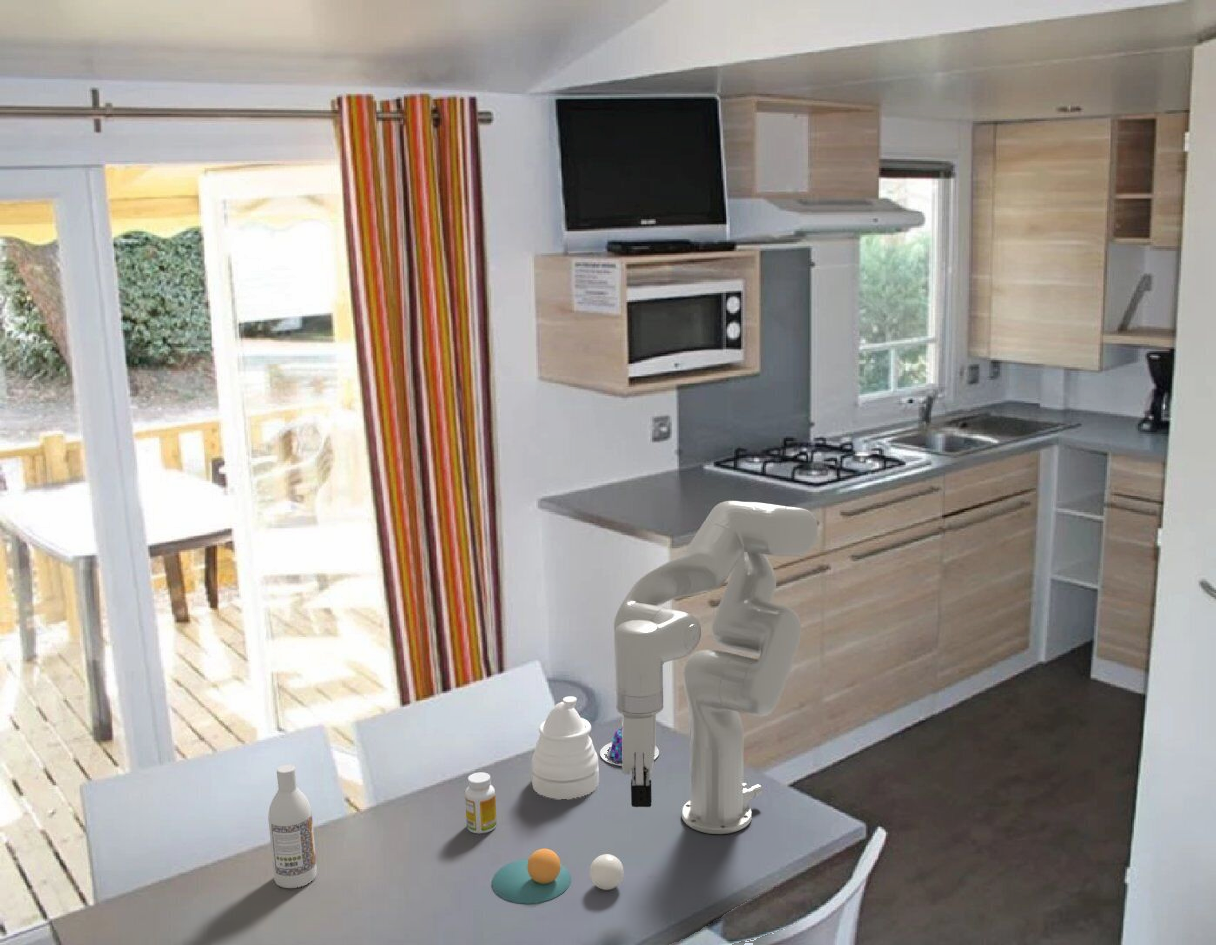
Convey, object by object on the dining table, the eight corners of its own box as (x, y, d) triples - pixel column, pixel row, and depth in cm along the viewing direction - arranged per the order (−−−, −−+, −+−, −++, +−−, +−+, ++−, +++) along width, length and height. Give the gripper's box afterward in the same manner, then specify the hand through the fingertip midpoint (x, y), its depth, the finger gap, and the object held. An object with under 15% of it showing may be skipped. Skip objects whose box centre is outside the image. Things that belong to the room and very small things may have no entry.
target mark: (542, 851, 205) (542, 850, 205) (586, 884, 195) (586, 883, 194) (477, 877, 197) (477, 876, 197) (519, 913, 187) (519, 912, 187)
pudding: (596, 745, 245) (596, 721, 244) (654, 740, 247) (653, 717, 245) (603, 771, 234) (603, 747, 232) (663, 767, 235) (663, 742, 234)
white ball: (604, 841, 195) (599, 865, 198) (586, 860, 191) (580, 884, 193) (632, 859, 193) (626, 883, 195) (614, 878, 188) (608, 902, 191)
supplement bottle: (499, 819, 216) (497, 770, 214) (493, 834, 211) (491, 784, 208) (470, 818, 216) (467, 769, 214) (463, 834, 211) (461, 784, 209)
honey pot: (612, 781, 229) (610, 694, 225) (565, 806, 220) (562, 716, 216) (565, 761, 237) (562, 677, 233) (518, 785, 228) (514, 698, 224)
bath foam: (321, 883, 197) (311, 772, 192) (279, 894, 194) (268, 782, 189) (312, 863, 203) (302, 755, 198) (271, 873, 200) (260, 764, 196)
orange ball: (561, 846, 198) (530, 856, 199) (550, 842, 194) (519, 852, 194) (568, 880, 196) (537, 889, 197) (557, 876, 191) (526, 886, 192)
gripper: (618, 679, 195) (620, 782, 199) (612, 718, 180) (615, 828, 184) (664, 680, 194) (665, 782, 198) (662, 718, 180) (663, 828, 184)
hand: (641, 804), depth 191 cm, fingers closed
